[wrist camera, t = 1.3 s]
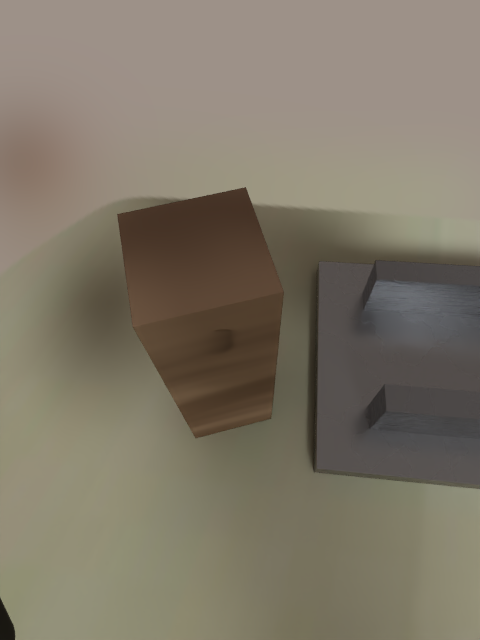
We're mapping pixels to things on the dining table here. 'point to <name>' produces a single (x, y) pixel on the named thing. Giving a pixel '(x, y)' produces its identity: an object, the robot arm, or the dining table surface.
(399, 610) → the dining table surface
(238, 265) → the brown wooden block
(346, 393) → the keeper bracket
